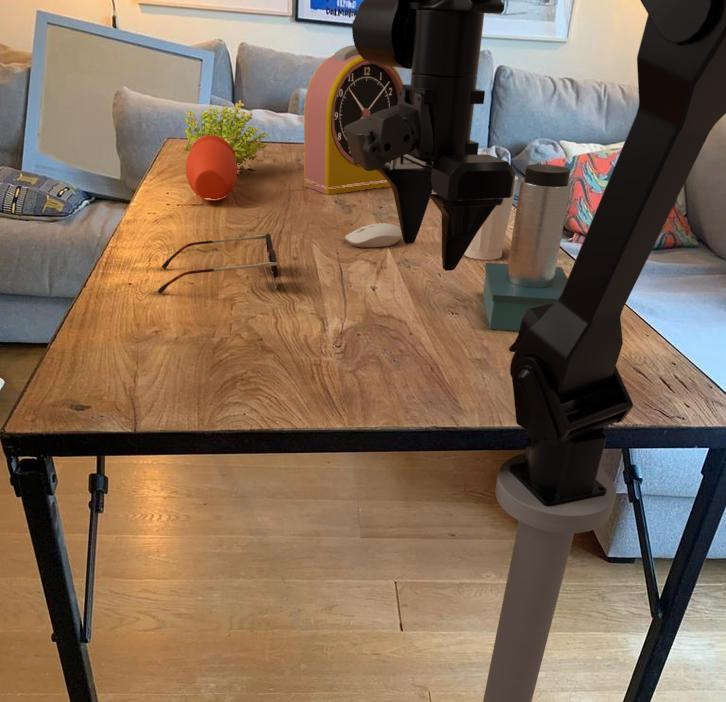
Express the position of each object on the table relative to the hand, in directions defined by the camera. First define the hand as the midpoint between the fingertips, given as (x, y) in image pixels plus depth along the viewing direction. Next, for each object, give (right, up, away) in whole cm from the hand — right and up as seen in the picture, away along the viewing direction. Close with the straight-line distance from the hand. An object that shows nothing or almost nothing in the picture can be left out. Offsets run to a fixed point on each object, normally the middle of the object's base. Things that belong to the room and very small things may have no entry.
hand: (427, 255), depth 72 cm
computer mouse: (-4, +18, +51) cm, 54 cm away
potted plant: (-36, +42, +85) cm, 101 cm away
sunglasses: (-27, +6, +31) cm, 42 cm away
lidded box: (+15, 0, +25) cm, 29 cm away
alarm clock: (-8, +43, +88) cm, 98 cm away
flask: (+15, +4, +22) cm, 27 cm away
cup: (+13, +15, +48) cm, 52 cm away
